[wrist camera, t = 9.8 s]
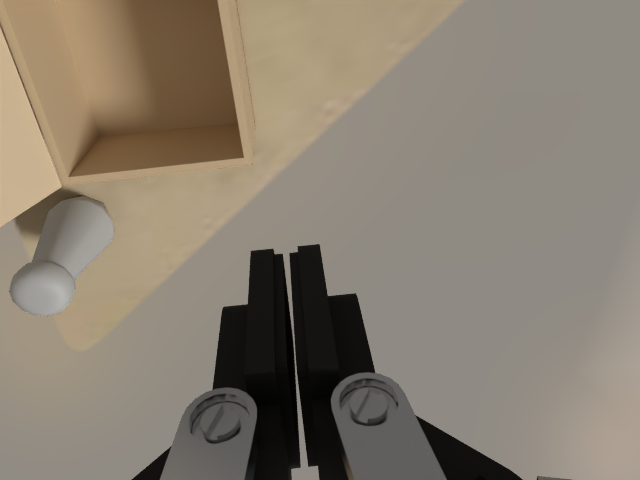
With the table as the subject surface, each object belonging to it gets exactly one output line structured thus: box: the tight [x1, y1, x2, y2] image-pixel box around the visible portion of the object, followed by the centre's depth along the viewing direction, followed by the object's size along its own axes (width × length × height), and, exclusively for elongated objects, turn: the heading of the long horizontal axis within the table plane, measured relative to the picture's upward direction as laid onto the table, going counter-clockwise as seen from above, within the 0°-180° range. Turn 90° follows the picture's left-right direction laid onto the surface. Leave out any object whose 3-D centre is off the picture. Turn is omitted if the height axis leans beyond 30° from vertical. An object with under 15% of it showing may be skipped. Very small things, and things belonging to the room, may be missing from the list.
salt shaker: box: [9, 196, 114, 316], centre depth 43 cm, size 6×6×13 cm
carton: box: [0, 0, 255, 186], centre depth 38 cm, size 14×13×9 cm
